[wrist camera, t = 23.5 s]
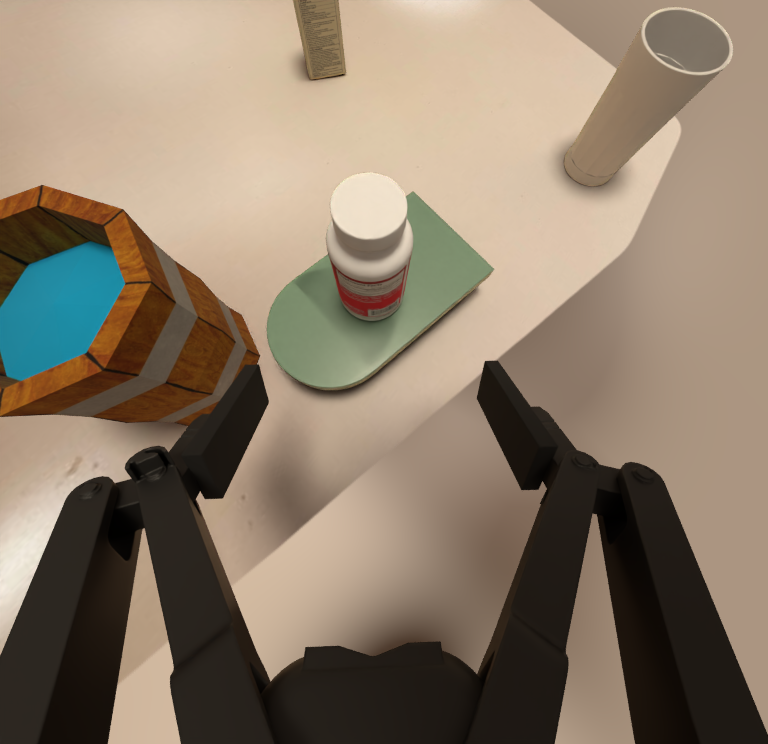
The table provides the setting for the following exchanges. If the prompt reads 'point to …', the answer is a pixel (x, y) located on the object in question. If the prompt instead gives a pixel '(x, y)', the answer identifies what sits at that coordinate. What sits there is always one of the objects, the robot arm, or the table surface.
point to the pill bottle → (369, 244)
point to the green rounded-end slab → (361, 337)
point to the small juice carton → (321, 37)
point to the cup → (648, 90)
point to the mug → (106, 318)
